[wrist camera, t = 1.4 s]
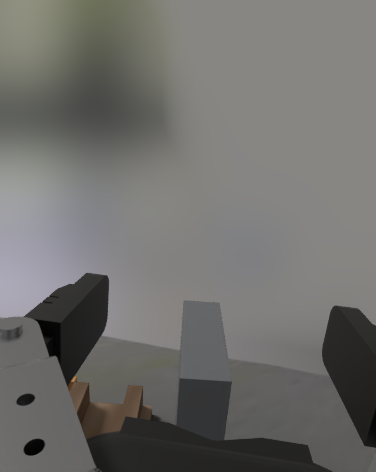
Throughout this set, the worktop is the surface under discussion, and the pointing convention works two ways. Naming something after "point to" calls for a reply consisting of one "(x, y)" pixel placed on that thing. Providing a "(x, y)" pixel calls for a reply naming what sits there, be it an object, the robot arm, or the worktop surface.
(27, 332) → the robot arm
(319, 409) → the worktop surface
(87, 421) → the rack
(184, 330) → the panel
